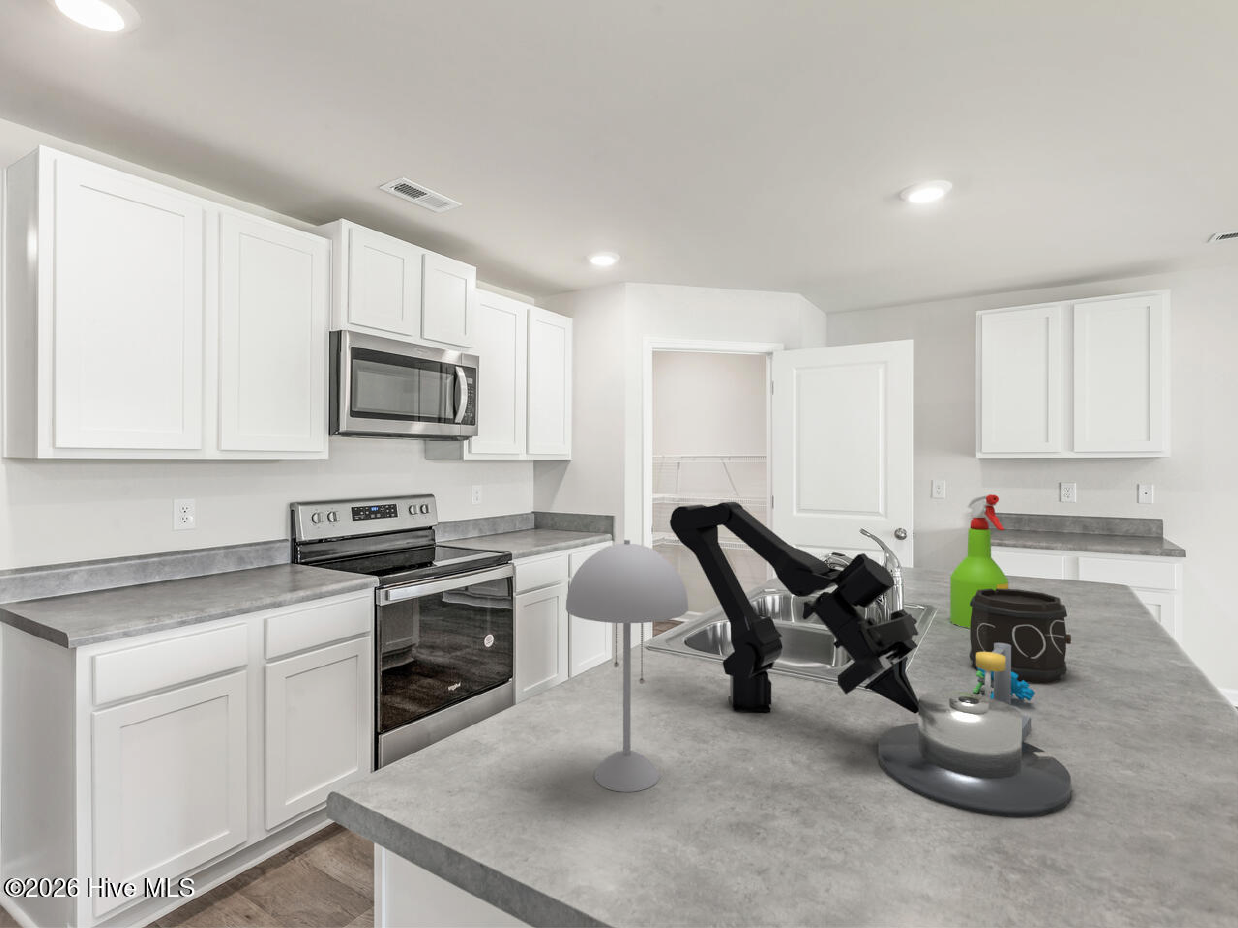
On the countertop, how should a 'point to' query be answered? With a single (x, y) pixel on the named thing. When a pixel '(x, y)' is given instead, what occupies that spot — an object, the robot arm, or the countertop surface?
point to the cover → (970, 734)
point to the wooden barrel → (1021, 631)
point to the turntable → (977, 779)
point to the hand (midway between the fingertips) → (918, 711)
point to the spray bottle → (976, 562)
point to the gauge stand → (1000, 677)
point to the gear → (1016, 687)
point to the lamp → (627, 631)
